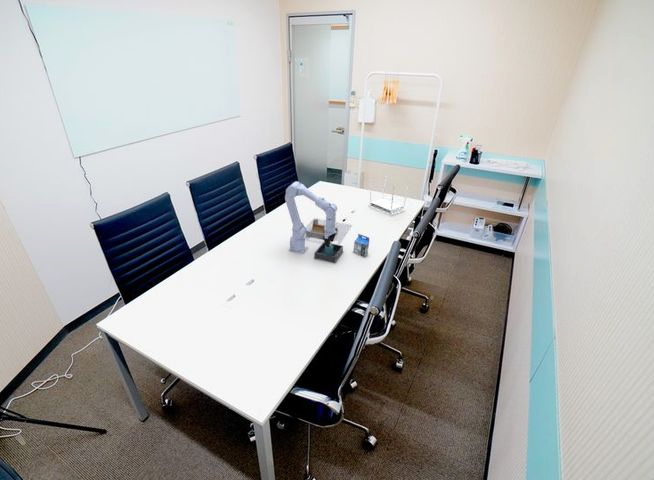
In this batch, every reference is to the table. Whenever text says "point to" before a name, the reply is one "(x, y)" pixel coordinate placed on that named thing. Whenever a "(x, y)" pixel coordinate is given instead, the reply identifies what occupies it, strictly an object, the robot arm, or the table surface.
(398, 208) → the router
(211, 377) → the table surface
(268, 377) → the table surface
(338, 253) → the bin
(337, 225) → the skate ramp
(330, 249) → the bottle
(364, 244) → the label tape box
